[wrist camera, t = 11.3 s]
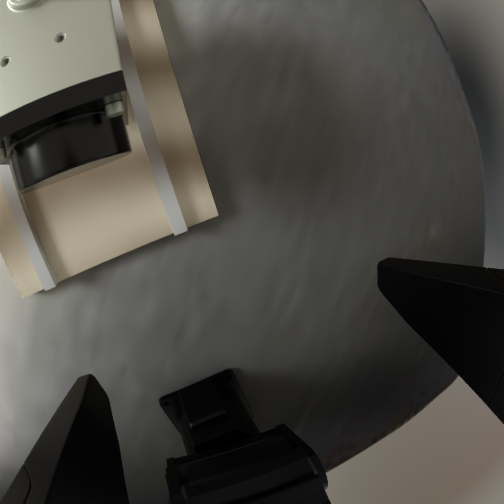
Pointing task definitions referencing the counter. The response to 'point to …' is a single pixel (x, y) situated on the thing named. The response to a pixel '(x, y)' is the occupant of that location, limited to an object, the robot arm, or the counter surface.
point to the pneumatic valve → (60, 90)
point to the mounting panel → (113, 176)
